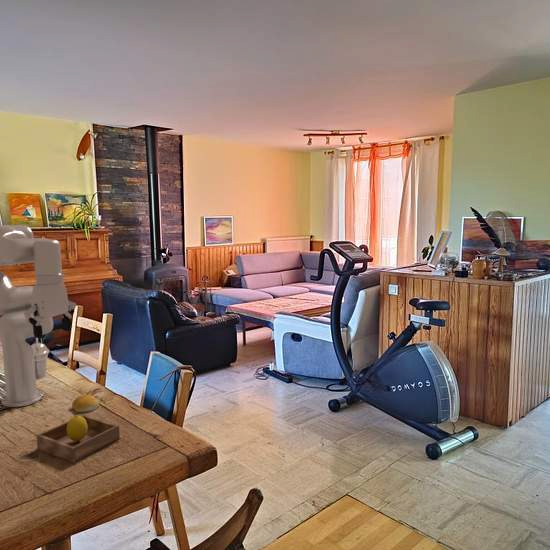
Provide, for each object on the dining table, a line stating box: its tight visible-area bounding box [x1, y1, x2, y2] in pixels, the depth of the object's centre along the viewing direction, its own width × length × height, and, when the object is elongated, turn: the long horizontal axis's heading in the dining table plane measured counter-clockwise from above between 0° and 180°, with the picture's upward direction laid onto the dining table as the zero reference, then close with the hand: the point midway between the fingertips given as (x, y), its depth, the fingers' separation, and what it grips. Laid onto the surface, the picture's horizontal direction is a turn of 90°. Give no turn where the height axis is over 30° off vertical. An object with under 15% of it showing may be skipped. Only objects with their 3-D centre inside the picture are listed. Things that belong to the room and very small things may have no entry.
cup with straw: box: [30, 338, 50, 379], centre depth 193 cm, size 8×9×20 cm
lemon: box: [67, 414, 88, 442], centre depth 137 cm, size 6×6×8 cm
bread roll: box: [71, 394, 100, 413], centre depth 163 cm, size 8×9×4 cm
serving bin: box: [36, 414, 121, 464], centre depth 137 cm, size 16×16×4 cm
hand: (52, 334), depth 149 cm, fingers open, 9 cm apart
